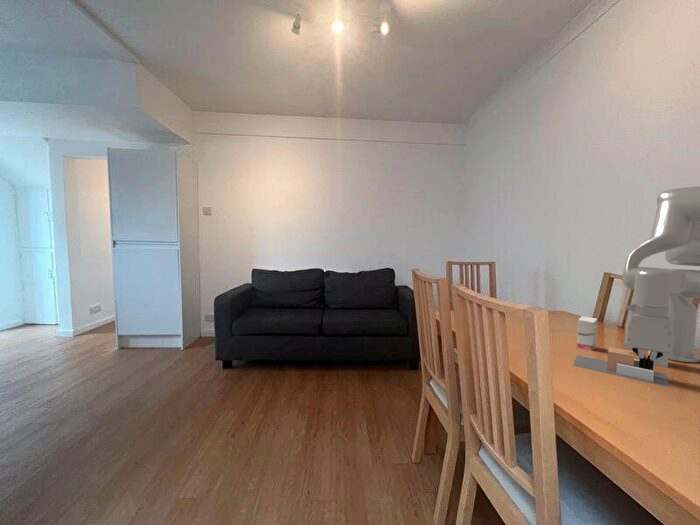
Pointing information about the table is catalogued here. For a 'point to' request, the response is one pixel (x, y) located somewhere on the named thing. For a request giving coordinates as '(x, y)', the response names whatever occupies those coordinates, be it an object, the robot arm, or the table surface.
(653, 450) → the table surface
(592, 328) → the ink box
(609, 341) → the table surface
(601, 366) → the channel base
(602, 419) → the table surface
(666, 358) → the skincare box
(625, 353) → the block
